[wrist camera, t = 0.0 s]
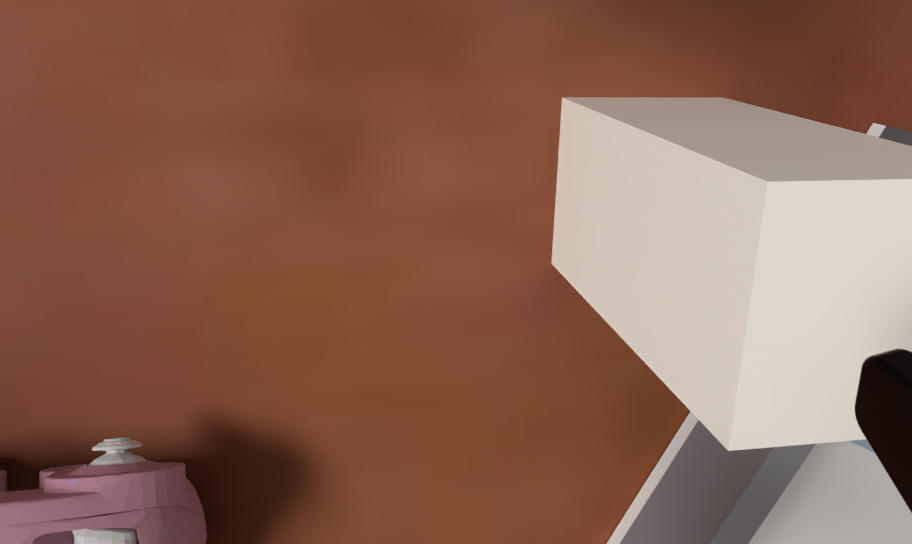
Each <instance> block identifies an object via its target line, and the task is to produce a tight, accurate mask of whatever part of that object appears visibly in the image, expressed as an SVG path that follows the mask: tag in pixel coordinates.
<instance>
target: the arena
mask: <svg viewBox="0 0 912 544" xmlns="http://www.w3.org/2000/svg"><path fill="white" fill-rule="evenodd" d="M867 135H871V136H874V137H878V138H882V139H886V140H890V141H894V142H898V143H902V144H905V145H909V146H912V132H909V131H905V130H901V129H897V128H892V127H888V126H884V125H880V124H875V123H873V124H872V126H871V127H870V129H869V130H868V132H867ZM607 544H912V513H911V511H910V510H909V508H908V506H907V505H906V503H905V501H904V500H903V498H902V496H901V495H900V493H899V492H898V490H897V488H896V487H895V485H894V483H893V482H892V480H891V478H890V477H889V475H888V474H887V472H886V470H885V469H884V467H883V465H882V464H881V462H880V460H879V459H878V457H877V455H876V454H875V452H874V451H873V449H872V447H871V446H870V444H869V442H868V441H867V439H865V440H853V441H841V442H829V443H817V444H805V445H793V446H781V447H769V448H757V449H745V450H733V451H728V450H727V449H726V448H725V447H724V446H723V445H722V444H721V443H720V442H719V441H718V440H717V439H716V437H715V436H714V435H713V434H712V433H711V432H710V431H709V430H708V429H707V428H706V427H705V426H704V425H703V424H702V423H701V422H700V421H699V419H698V418H697V417H696V416H695V415H694V414H693V413H692V412H691V411H690V413H689V414H688V416H687V417H686V419H685V421H684V422H683V424H682V425H681V427H680V429H679V430H678V432H677V433H676V435H675V436H674V438H673V440H672V441H671V443H670V444H669V446H668V447H667V449H666V451H665V452H664V454H663V455H662V457H661V458H660V460H659V462H658V463H657V465H656V466H655V468H654V470H653V471H652V473H651V474H650V476H649V477H648V479H647V481H646V482H645V484H644V485H643V487H642V488H641V490H640V492H639V493H638V495H637V496H636V498H635V500H634V501H633V503H632V504H631V506H630V507H629V509H628V511H627V512H626V514H625V515H624V517H623V518H622V520H621V522H620V523H619V525H618V526H617V528H616V529H615V531H614V533H613V534H612V536H611V537H610V539H609V541H608V542H607Z"/></svg>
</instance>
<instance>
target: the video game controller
mask: <svg viewBox="0 0 912 544" xmlns="http://www.w3.org/2000/svg"><path fill="white" fill-rule="evenodd" d="M137 447H142V443H141V442H137V441H136V440H132V439H130V437H124V438H111V439H105V440H104V441H103V442H100V443H98V444H97V445H96V446H94V447H93V448H92V451H107V452H106V454H104V455H102V456H100V457H99V458H97V459H95V460H94V461H92V462H91V463H90V464H78V465H68V466H61V467H54V468H48V469H44V470H41V471H40V472H39V489H31V490H20V491H9V492H7V471H6V470H0V544H206V539H207V529H206V522H205V516H204V510H203V508H202V505H201V502H200V500H199V497H198V494H197V492H196V490H195V488H194V487H193V485H192V484H191V483H190V481H189V480H188V479H187V478H186V475H185V464H184V463H180V462H154V461H151V460H147V459H144V458H143V457H142V456H139V455H136V454H134V453H131V452H129V451H128V449H130V448H137Z"/></svg>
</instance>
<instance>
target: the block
mask: <svg viewBox="0 0 912 544" xmlns="http://www.w3.org/2000/svg"><path fill="white" fill-rule="evenodd" d="M552 265H553V266H554V267H555V268H556V269H557V270H558V271H559V272H560V273H561V274H562V275H563V276H564V277H565V278H566V279H567V281H568V282H569V283H570V284H571V285H572V286H573V287H574V288H575V289H576V290H577V291H578V292H579V293H580V294H581V295H582V296H583V297H584V299H585V300H586V301H587V302H588V303H589V304H590V305H591V306H592V307H593V308H594V309H595V310H596V311H597V312H598V313H599V314H600V316H601V317H602V318H603V319H604V320H605V321H606V322H607V323H608V324H609V325H610V326H611V327H612V328H613V329H614V330H615V331H616V332H617V334H618V335H619V336H620V337H621V338H622V339H623V340H624V341H625V342H626V343H627V344H628V345H629V346H630V347H631V348H632V349H633V351H634V352H635V353H636V354H637V355H638V356H639V357H640V358H641V359H642V360H643V361H644V362H645V363H646V364H647V365H648V366H649V367H650V369H651V370H652V371H653V372H654V373H655V374H656V375H657V376H658V377H659V378H660V379H661V380H662V381H663V382H664V383H665V384H666V386H667V387H668V388H669V389H670V390H671V391H672V392H673V393H674V394H675V395H676V396H677V397H678V398H679V399H680V400H681V401H682V402H683V404H684V405H685V406H686V407H687V408H688V409H689V410H690V411H691V412H692V413H693V414H694V415H695V416H696V417H697V418H698V419H699V421H700V422H701V423H702V424H703V425H704V426H705V427H706V428H707V429H708V430H709V431H710V432H711V433H712V434H713V435H714V436H715V437H716V439H717V440H718V441H719V442H720V443H721V444H722V445H723V446H724V447H725V448H726V449H727V450H728V451H733V450H745V449H757V448H769V447H781V446H793V445H805V444H817V443H829V442H841V441H853V440H865V439H866V437H865V436H864V434H863V433H862V431H861V429H860V427H859V425H858V423H857V420H856V416H855V401H856V395H857V390H858V384H859V379H860V373H861V368H862V364H863V362H864V361H865V360H866V358H868V357H869V356H872V355H875V354H879V353H882V352H886V351H889V350H893V349H905V350H908V351H911V352H912V146H909V145H905V144H902V143H898V142H894V141H890V140H886V139H882V138H878V137H874V136H871V135H867V134H863V133H859V132H855V131H851V130H847V129H843V128H840V127H836V126H832V125H828V124H824V123H820V122H816V121H812V120H809V119H805V118H801V117H797V116H793V115H789V114H785V113H781V112H778V111H774V110H770V109H766V108H762V107H758V106H754V105H750V104H747V103H743V102H739V101H735V100H731V99H727V98H589V97H562V108H561V124H560V140H559V155H558V171H557V187H556V202H555V218H554V234H553V249H552Z"/></svg>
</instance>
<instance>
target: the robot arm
mask: <svg viewBox="0 0 912 544" xmlns="http://www.w3.org/2000/svg"><path fill="white" fill-rule="evenodd" d="M855 416H856V420H857V423H858V425H859V427H860V429H861V431H862V433H863V434H864V436H865V437H866V439H867V441H868V442H869V444H870V446H871V447H872V449H873V451H874V452H875V454H876V455H877V457H878V459H879V460H880V462H881V464H882V465H883V467H884V469H885V470H886V472H887V474H888V475H889V477H890V478H891V480H892V482H893V483H894V485H895V487H896V488H897V490H898V492H899V493H900V495H901V496H902V498H903V500H904V501H905V503H906V505H907V506H908V508H909V510H910V511H911V513H912V352H911V351H908V350H905V349H893V350H889V351H886V352H882V353H879V354H875V355H872V356H869V357H868V358H866V360H865V361H864V362H863V364H862V368H861V373H860V379H859V384H858V390H857V395H856V401H855Z"/></svg>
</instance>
